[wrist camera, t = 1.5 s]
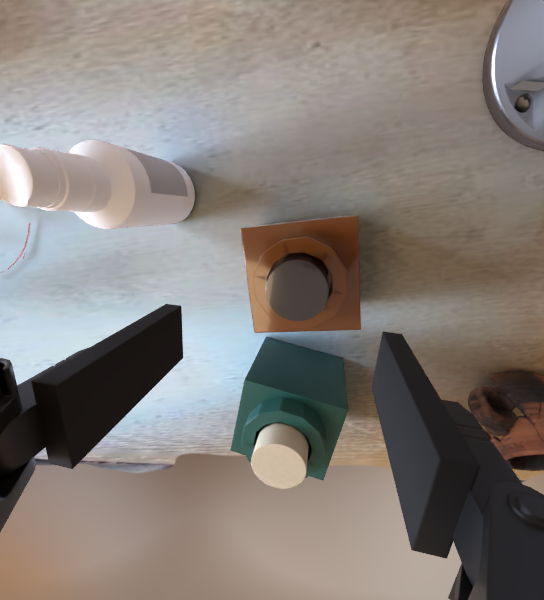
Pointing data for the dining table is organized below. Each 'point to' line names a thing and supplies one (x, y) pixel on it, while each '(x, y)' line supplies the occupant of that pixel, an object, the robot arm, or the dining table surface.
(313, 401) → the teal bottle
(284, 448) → the beige cylinder
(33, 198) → the white bottle
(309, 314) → the dark gray button
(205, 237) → the dining table surface
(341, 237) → the brown push button box
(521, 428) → the brown jagged looped figure
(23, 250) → the figurine
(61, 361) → the robot arm
